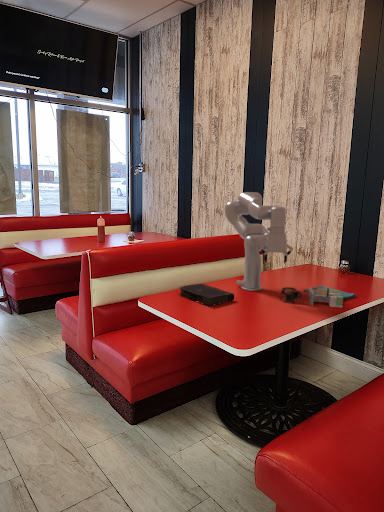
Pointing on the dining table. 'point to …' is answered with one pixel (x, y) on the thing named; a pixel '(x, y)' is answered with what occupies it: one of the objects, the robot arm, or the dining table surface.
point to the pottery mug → (290, 294)
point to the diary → (205, 294)
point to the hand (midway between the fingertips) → (275, 262)
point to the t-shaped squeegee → (318, 296)
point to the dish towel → (323, 291)
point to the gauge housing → (335, 300)
